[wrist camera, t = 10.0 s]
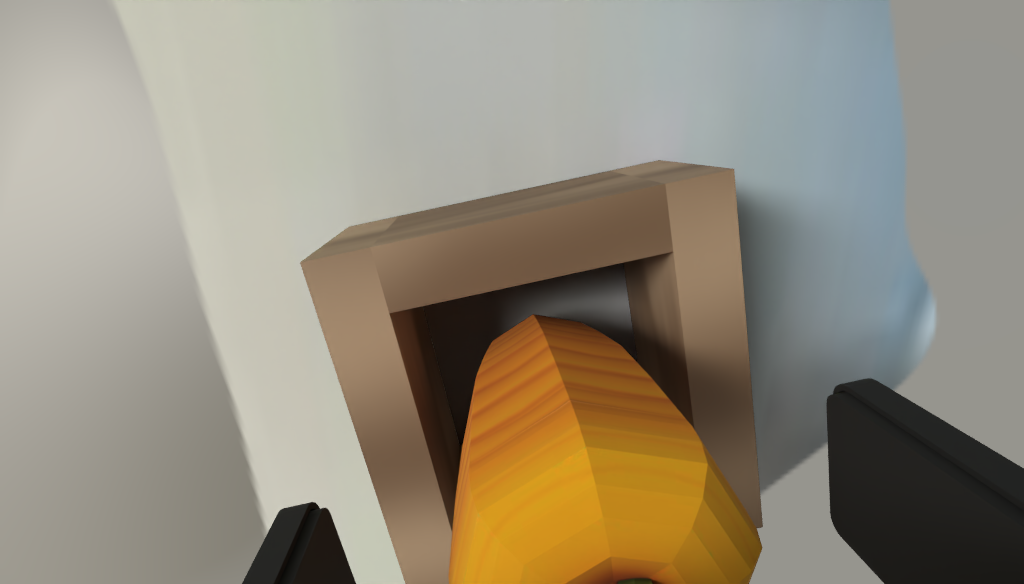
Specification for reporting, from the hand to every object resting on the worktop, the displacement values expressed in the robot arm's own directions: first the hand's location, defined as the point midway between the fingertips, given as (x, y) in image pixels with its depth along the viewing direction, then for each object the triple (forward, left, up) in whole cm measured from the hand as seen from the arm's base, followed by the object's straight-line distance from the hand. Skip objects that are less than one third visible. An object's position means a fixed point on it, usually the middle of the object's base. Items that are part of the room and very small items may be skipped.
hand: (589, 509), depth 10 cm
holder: (0, 0, -9) cm, 9 cm away
